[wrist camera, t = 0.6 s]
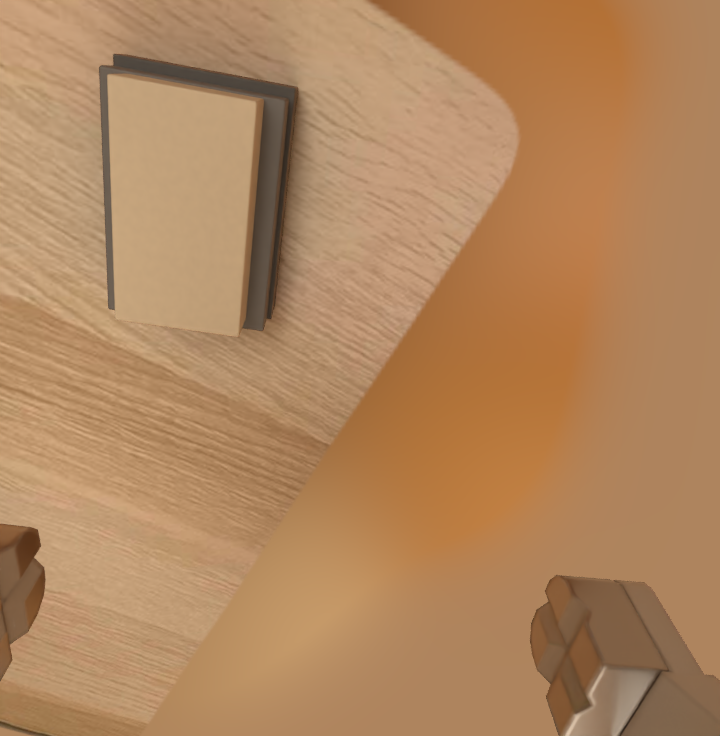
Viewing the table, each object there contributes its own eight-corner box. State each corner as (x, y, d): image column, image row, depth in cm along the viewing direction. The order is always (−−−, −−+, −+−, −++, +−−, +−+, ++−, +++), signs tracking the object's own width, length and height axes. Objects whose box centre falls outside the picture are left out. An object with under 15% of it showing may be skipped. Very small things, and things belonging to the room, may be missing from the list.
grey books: (126, 54, 23) (97, 52, 20) (298, 87, 23) (292, 89, 21) (130, 286, 27) (107, 309, 25) (274, 307, 28) (267, 332, 25)
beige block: (126, 73, 20) (106, 73, 19) (264, 98, 21) (257, 101, 19) (130, 302, 24) (114, 320, 23) (246, 319, 25) (238, 338, 23)
